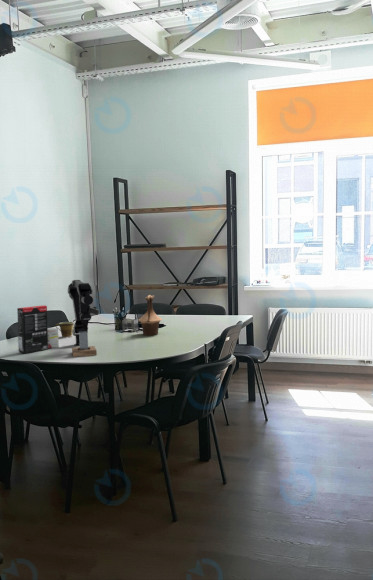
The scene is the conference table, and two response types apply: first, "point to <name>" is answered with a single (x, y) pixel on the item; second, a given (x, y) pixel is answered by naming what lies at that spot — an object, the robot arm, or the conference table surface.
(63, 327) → the ceramic cup
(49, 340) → the ink box
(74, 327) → the robot arm
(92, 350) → the post foot
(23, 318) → the graphics card box
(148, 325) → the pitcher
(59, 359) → the conference table surface
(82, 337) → the grey rectangular block
